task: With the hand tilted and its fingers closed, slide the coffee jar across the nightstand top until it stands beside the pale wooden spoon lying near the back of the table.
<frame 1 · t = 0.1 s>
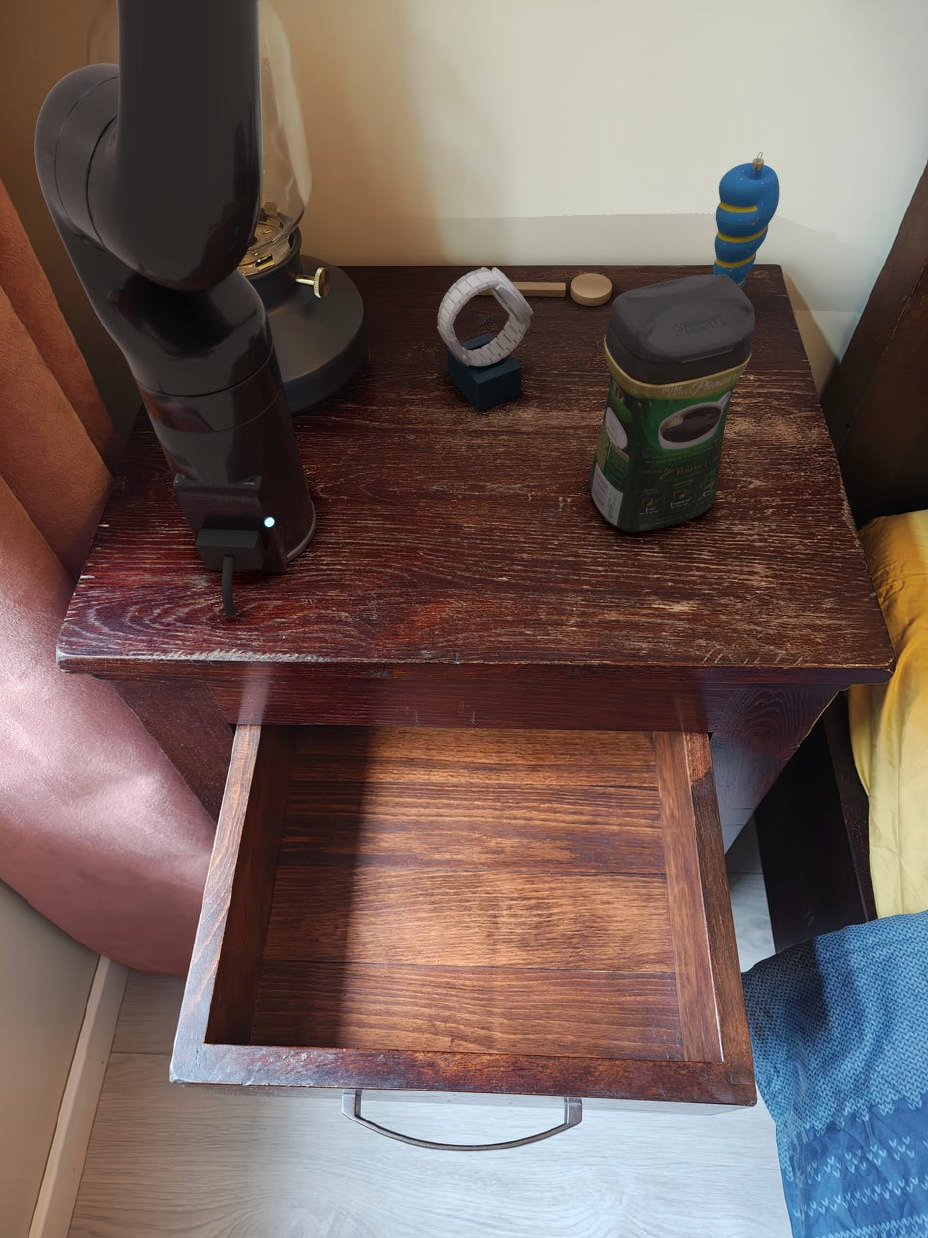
spoon: (544, 292, 90), on the nightstand
coffee jar: (648, 498, 74), on the nightstand
watch: (485, 387, 82), on the nightstand
ornament: (721, 310, 88), on the nightstand
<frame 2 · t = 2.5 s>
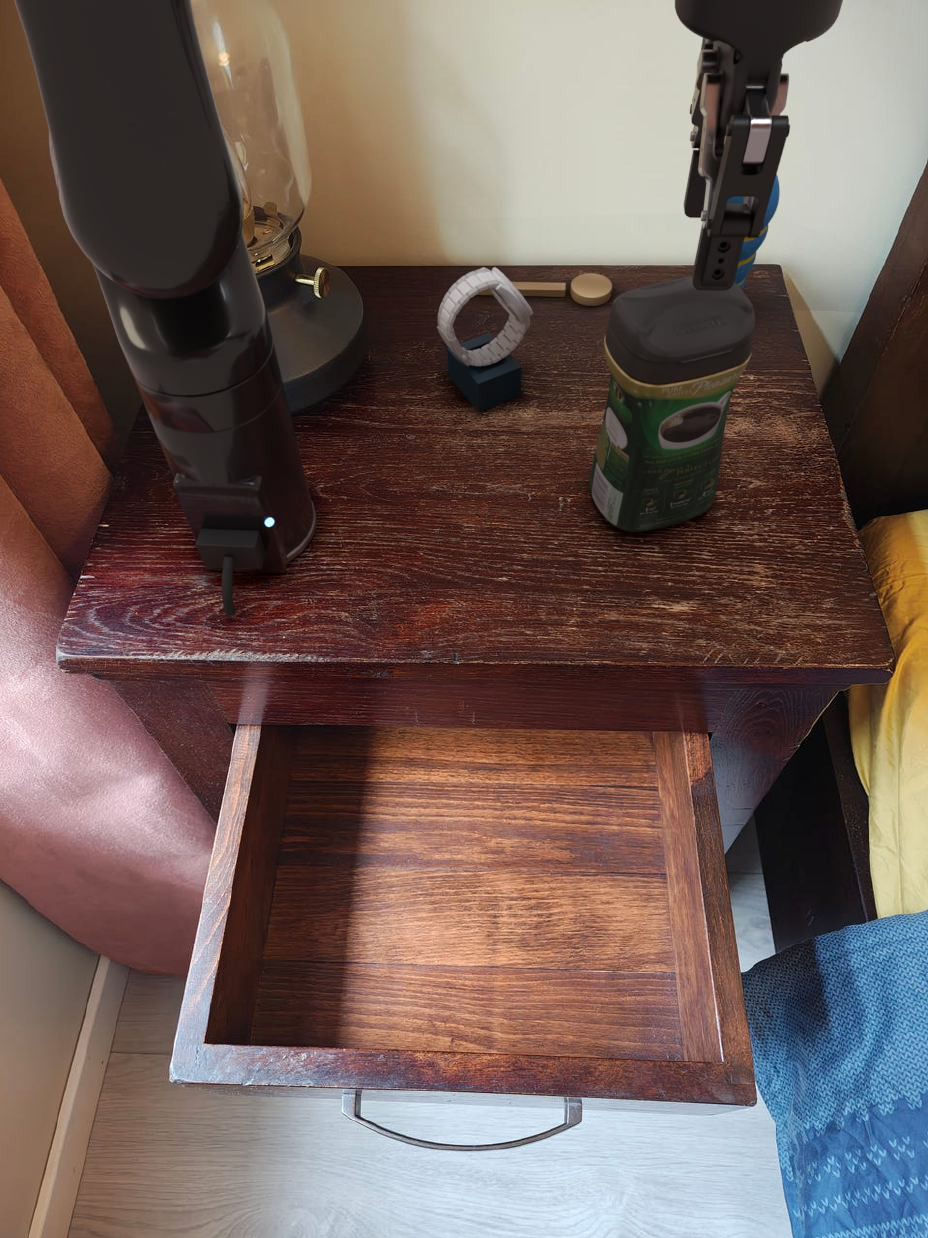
hand: (706, 248, 52), 24 cm above the nightstand, tool pointing down, fingers open, 6 cm apart
nothing on the nightstand moved.
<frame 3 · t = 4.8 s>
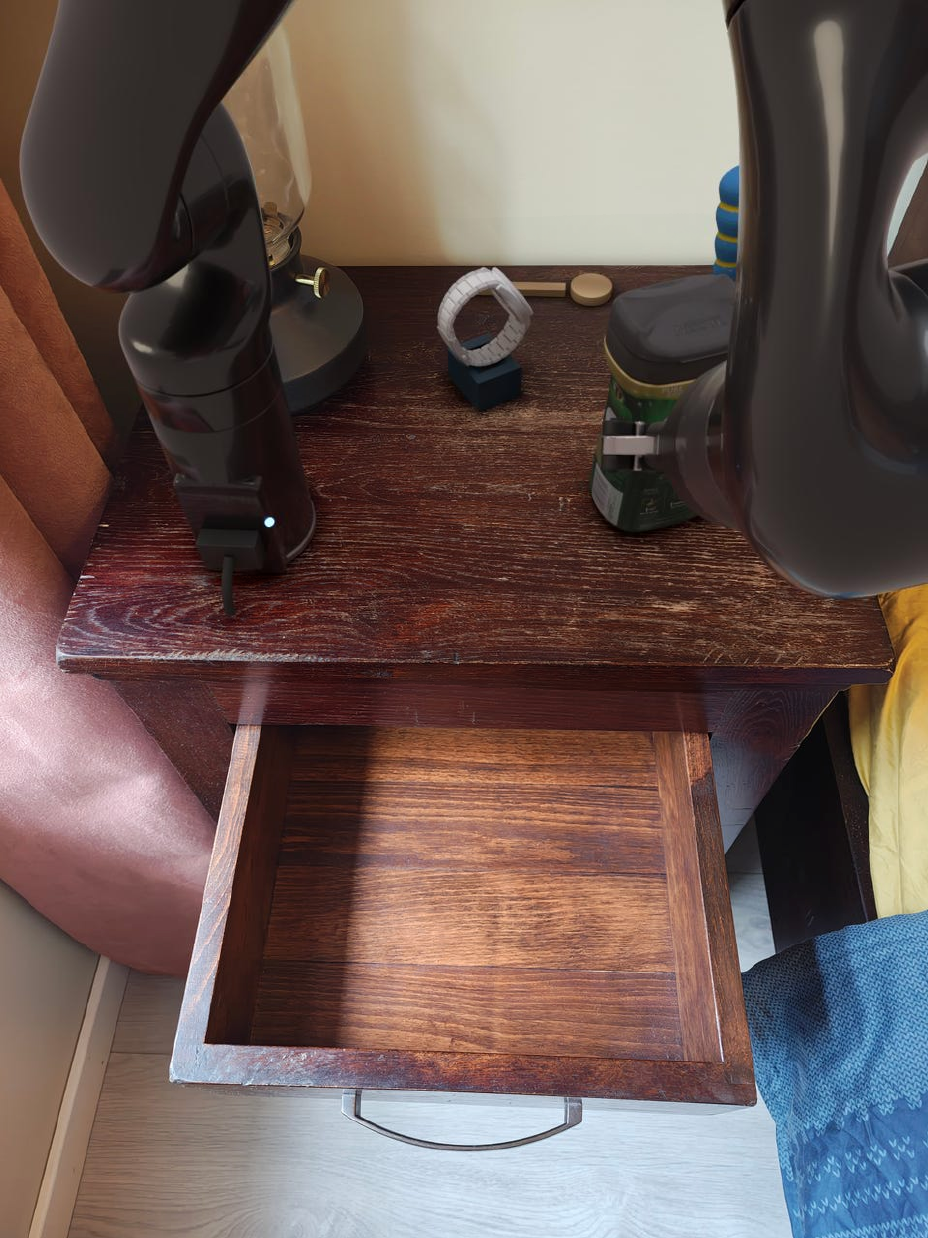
hand: (695, 452, 54), 16 cm above the nightstand, tool tilted 45°, fingers closed
nothing on the nightstand moved.
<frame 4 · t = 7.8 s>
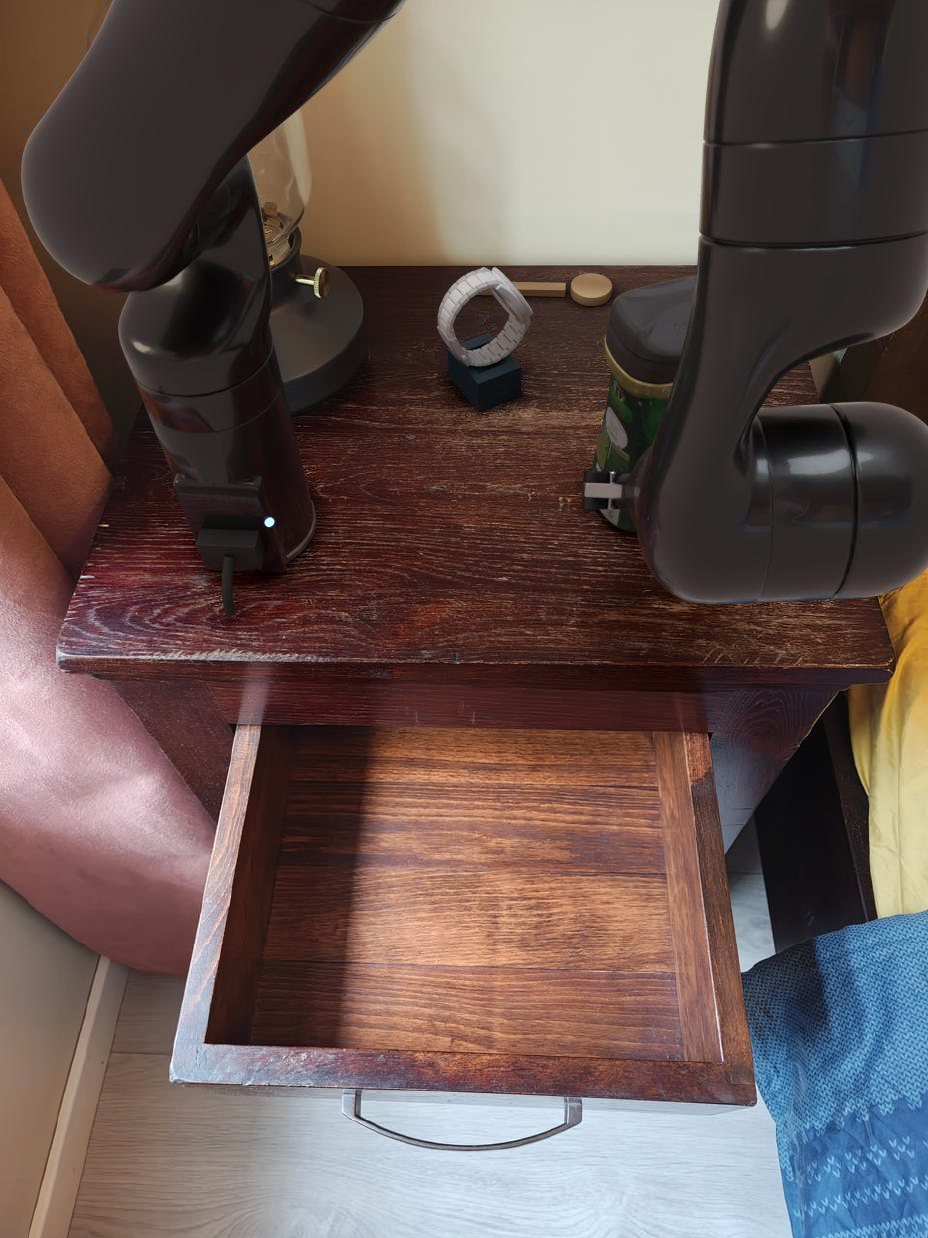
hand: (661, 491, 66), 6 cm above the nightstand, tool tilted 45°, fingers closed
coffee jar: (648, 497, 74), on the nightstand, touching gripper
everything else where it was.
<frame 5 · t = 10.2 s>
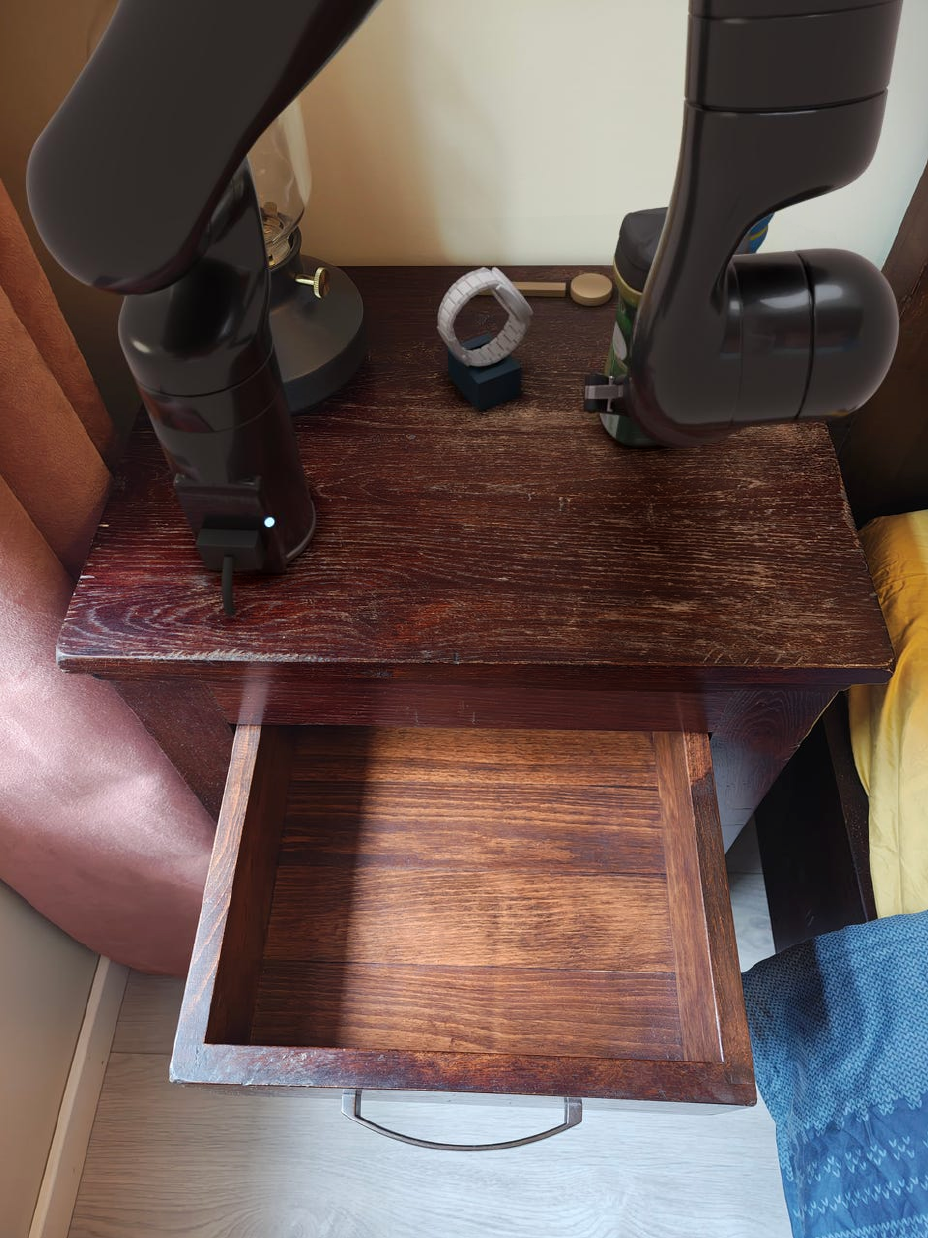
hand: (657, 405, 72), 5 cm above the nightstand, tool tilted 45°, fingers closed
coffee jar: (652, 419, 79), on the nightstand, touching gripper
everything else where it was.
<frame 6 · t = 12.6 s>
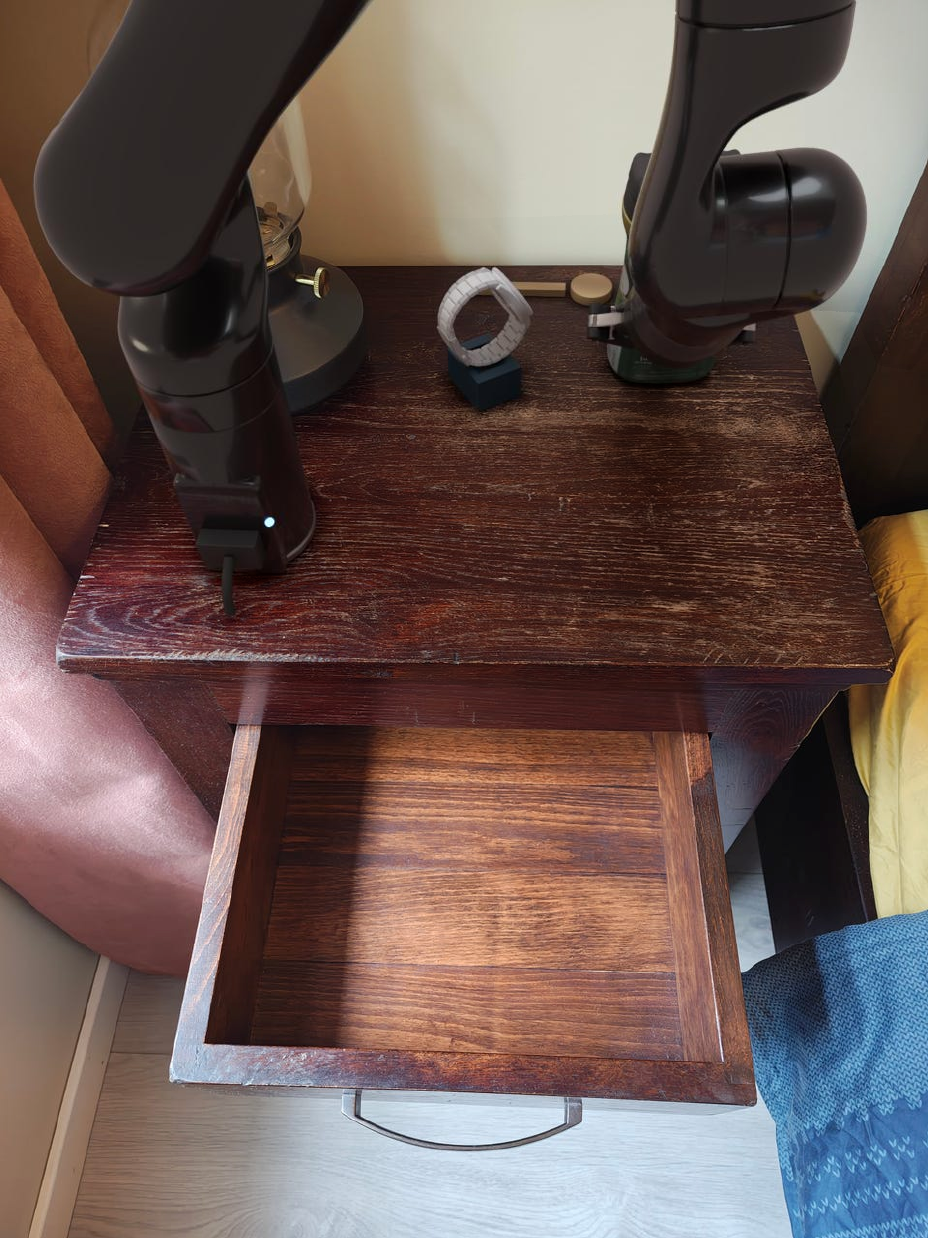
hand: (656, 340, 76), 5 cm above the nightstand, tool tilted 45°, fingers closed
coffee jar: (657, 361, 83), on the nightstand, touching gripper
everything else where it was.
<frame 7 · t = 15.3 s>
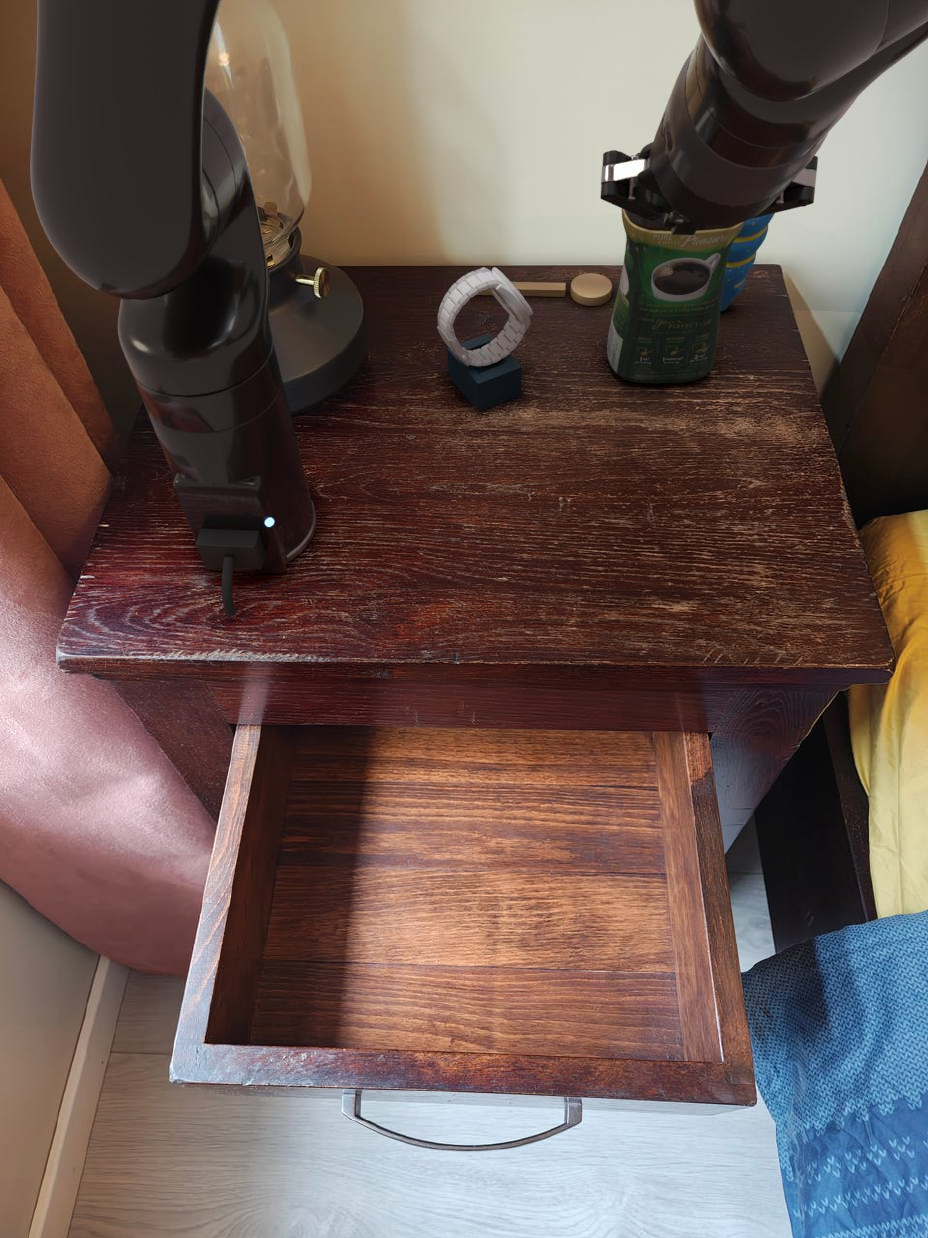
hand: (682, 219, 62), 20 cm above the nightstand, tool tilted 45°, fingers closed
coffee jar: (657, 361, 83), on the nightstand
everything else where it was.
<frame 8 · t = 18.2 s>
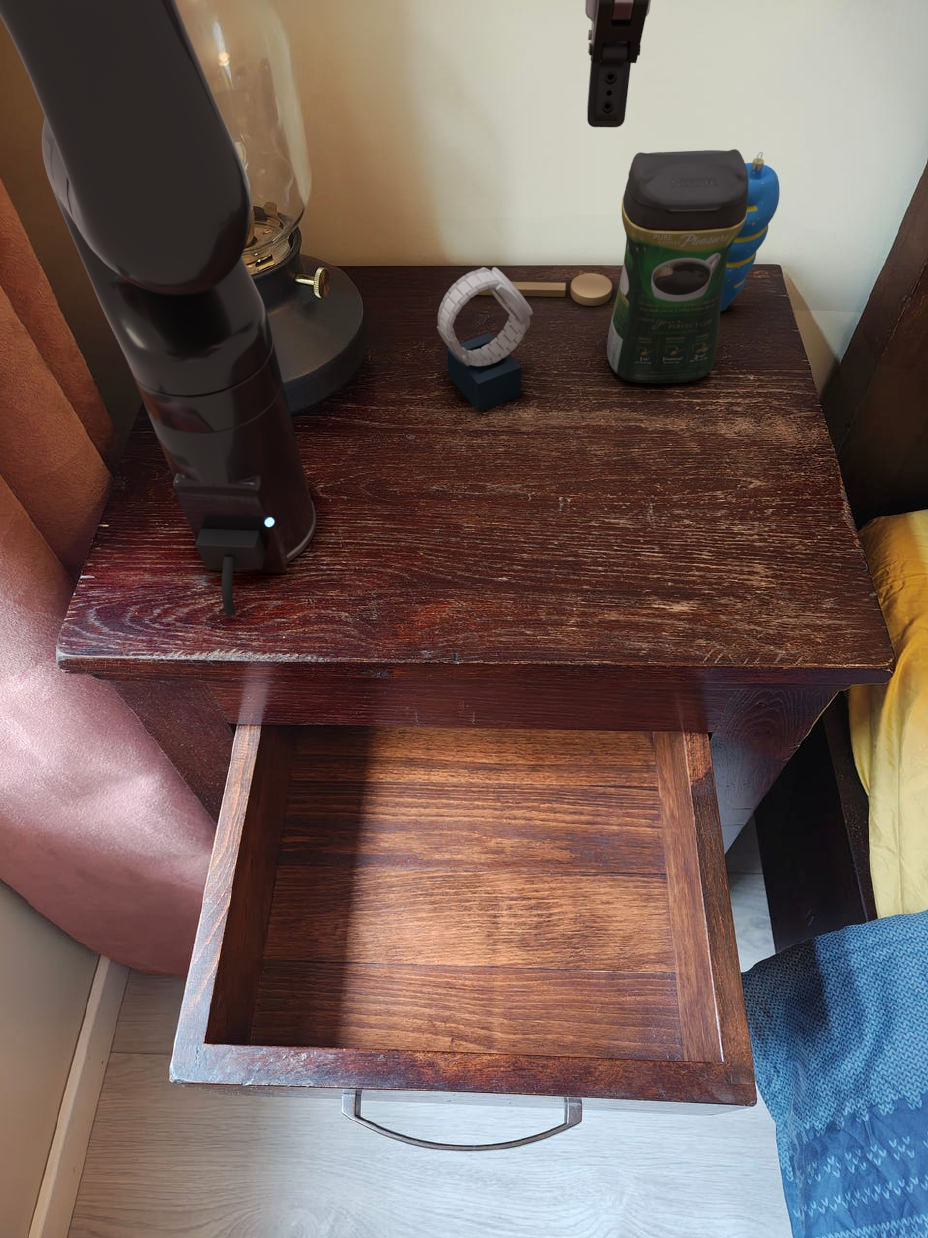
hand: (605, 120, 55), 27 cm above the nightstand, tool pointing down, fingers closed
nothing on the nightstand moved.
at the end: coffee jar inside the target area on the nightstand beside the spoon (2.1 cm from its centre), on the nightstand; coffee jar tilted 0°; spoon moved 0.0 cm from its start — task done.
